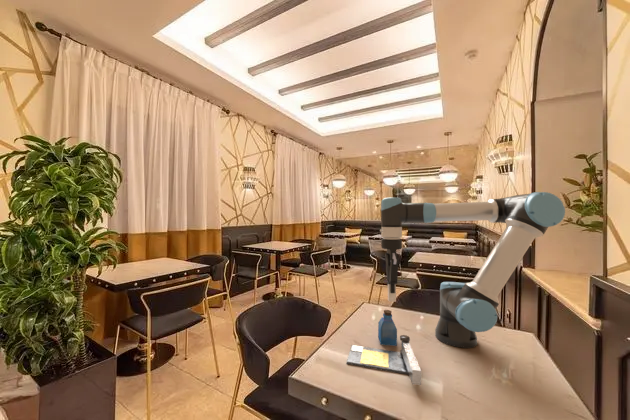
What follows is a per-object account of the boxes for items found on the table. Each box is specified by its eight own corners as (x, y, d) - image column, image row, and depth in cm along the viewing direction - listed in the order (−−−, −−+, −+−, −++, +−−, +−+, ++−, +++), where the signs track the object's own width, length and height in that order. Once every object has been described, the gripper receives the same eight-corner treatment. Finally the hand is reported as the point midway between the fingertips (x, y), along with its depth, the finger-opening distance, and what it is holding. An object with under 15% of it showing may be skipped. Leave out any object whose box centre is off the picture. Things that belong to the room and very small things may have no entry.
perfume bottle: (393, 338, 107) (393, 308, 107) (396, 345, 101) (397, 314, 101) (378, 337, 107) (378, 308, 108) (380, 344, 101) (380, 313, 102)
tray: (413, 356, 93) (413, 350, 93) (416, 376, 81) (416, 369, 81) (351, 346, 99) (351, 341, 99) (346, 363, 87) (346, 357, 87)
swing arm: (399, 348, 94) (399, 334, 94) (408, 349, 93) (408, 335, 93) (410, 384, 74) (411, 366, 74) (422, 385, 73) (422, 367, 73)
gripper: (378, 236, 106) (379, 295, 105) (384, 239, 93) (384, 306, 92) (397, 237, 105) (398, 295, 105) (405, 239, 92) (406, 307, 92)
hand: (391, 300), depth 98 cm, fingers closed
